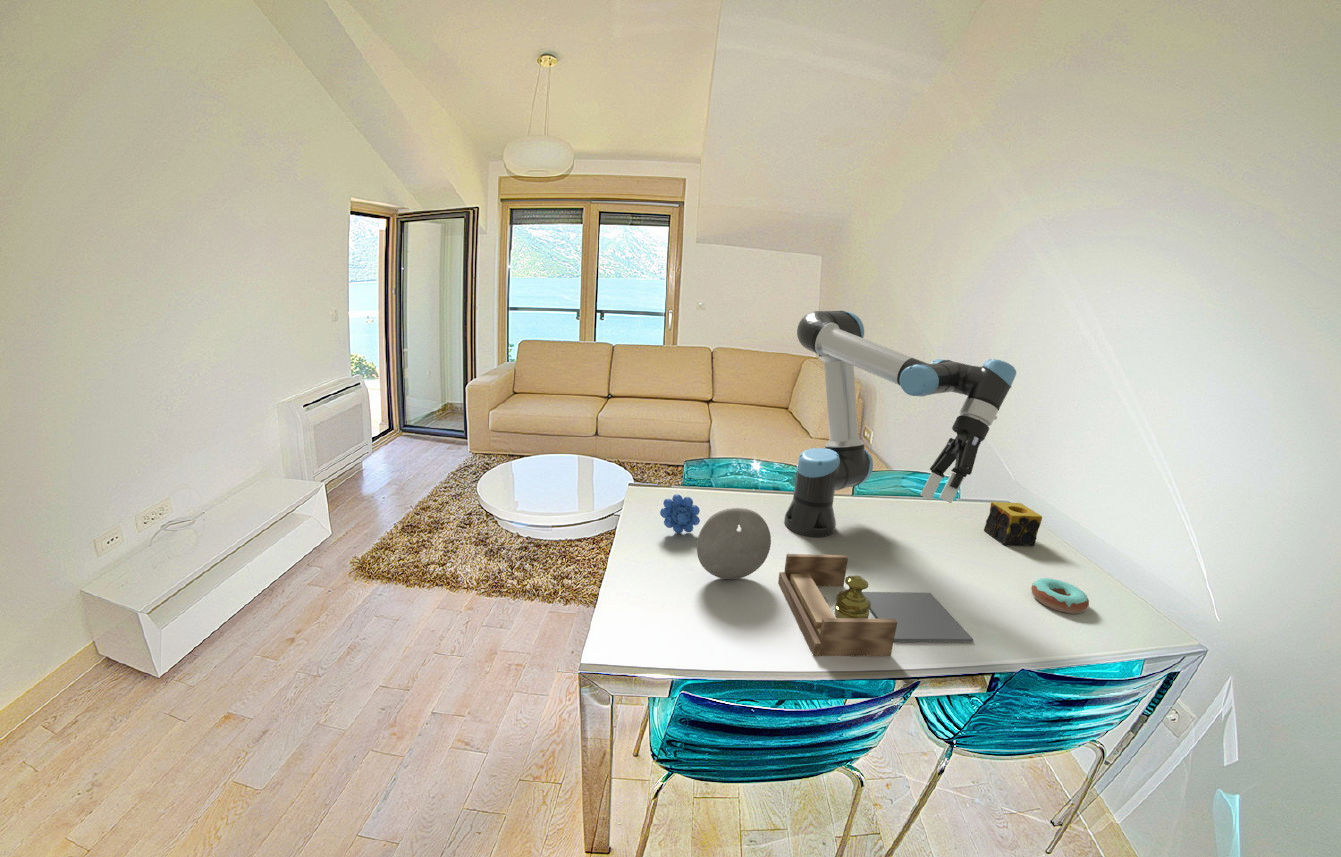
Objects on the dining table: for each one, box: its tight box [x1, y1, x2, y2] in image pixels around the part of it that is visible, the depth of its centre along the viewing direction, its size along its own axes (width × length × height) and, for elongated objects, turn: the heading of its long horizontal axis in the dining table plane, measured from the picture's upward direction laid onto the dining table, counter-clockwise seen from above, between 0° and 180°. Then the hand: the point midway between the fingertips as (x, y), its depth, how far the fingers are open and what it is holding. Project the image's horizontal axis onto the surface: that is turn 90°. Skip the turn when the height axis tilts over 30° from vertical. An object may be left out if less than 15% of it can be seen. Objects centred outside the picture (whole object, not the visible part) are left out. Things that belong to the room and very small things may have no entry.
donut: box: [1030, 577, 1090, 614], centre depth 141 cm, size 12×12×4 cm
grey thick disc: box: [696, 507, 772, 580], centre depth 140 cm, size 18×7×19 cm, turn 100°
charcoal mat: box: [862, 591, 974, 643], centre depth 131 cm, size 18×18×1 cm
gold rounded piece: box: [834, 574, 871, 619], centre depth 128 cm, size 7×7×10 cm
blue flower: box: [659, 493, 701, 534], centre depth 162 cm, size 12×7×12 cm, turn 100°
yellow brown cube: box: [983, 501, 1043, 547], centre depth 174 cm, size 10×10×10 cm
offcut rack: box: [777, 553, 897, 657], centre depth 128 cm, size 16×27×8 cm, turn 5°
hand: (934, 499), depth 139 cm, fingers open, 13 cm apart
